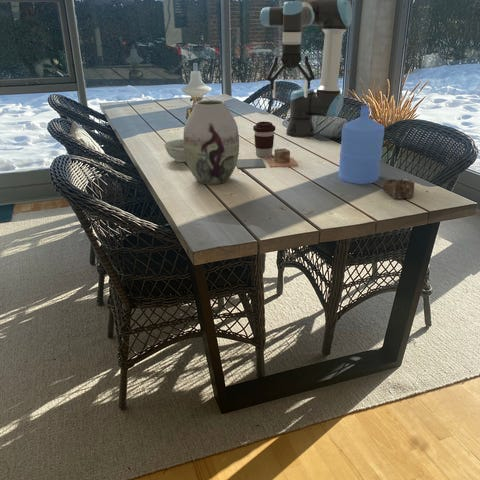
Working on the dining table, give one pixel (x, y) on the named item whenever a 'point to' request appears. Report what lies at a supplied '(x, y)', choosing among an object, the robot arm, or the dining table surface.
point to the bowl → (176, 150)
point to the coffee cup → (264, 138)
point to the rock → (399, 188)
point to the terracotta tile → (275, 164)
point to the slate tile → (250, 163)
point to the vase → (211, 142)
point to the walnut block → (282, 156)
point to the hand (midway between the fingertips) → (289, 97)
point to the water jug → (361, 149)
